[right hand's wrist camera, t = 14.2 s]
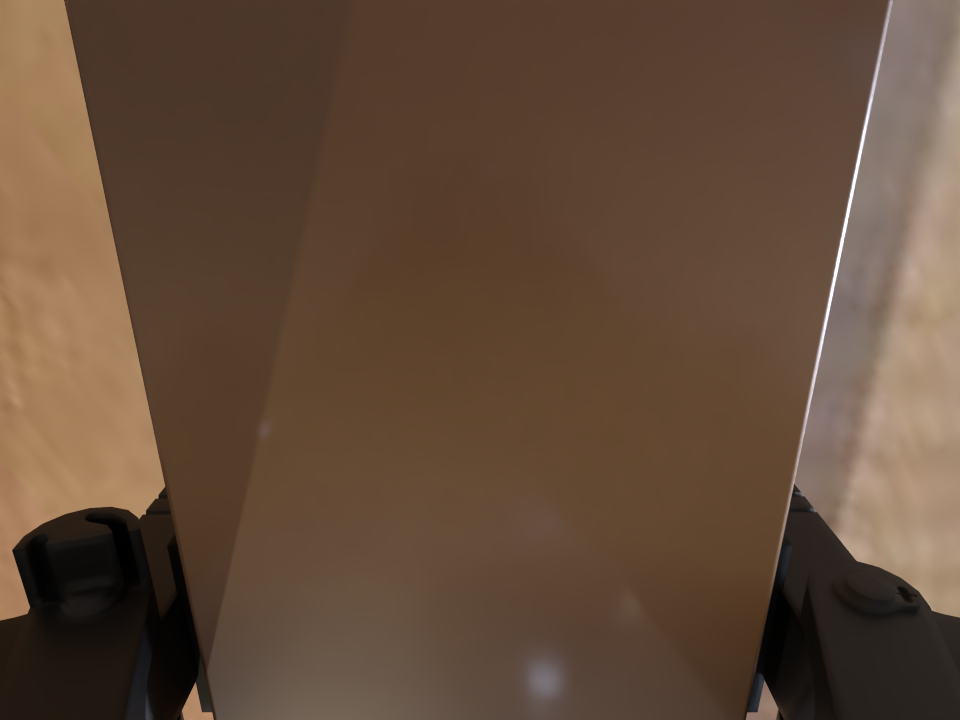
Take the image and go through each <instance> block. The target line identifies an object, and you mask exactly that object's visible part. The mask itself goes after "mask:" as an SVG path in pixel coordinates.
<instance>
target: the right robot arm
mask: <svg viewBox="0 0 960 720" xmlns="http://www.w3.org/2000/svg"><path fill="white" fill-rule="evenodd" d="M12 551H13V554H14V558H15V561H16V564H17V567H18V570H19V573H20V576H21V580H22V583H23V586H24V589H25V592H26V595H27V598H28V602H29V605H30V610H29V612H28V614H26V615H22V616H19V617H15V618H10V619H6V620H1V621H0V720H184V718H183V713H182V709H183V707H184V705H185V703H186V701H187V698H188V696H189V694H190V692H191V690H192V688H193V686H194V684H195V682H196V685H197V690H198V695H199V700H200V704H201V709H202V712H212V708H211V703H210V698H209V694H208V689H207V684H206V679H205V674H204V670H203V665H202V660H201V655H200V650H199V645H198V641H197V636H196V631H195V626H194V621H193V617H192V612H191V607H190V602H189V597H188V593H187V588H186V583H185V578H184V573H183V569H182V564H181V559H180V554H179V549H178V544H177V540H176V535H175V530H174V525H173V520H172V516H171V511H170V506H169V501H168V496H167V492H166V487H165V488H164V489H163V490H162V491H161V493H160V494H159V498H158V499H155V500H154V501H153V503H152V504H151V505H150V506H149V508H148V509H147V510H146V515H142V516H141V518H140V519H139V520H138V517H136V516H135V515H134V514H132V513H131V512H130V511H129V510H124V509H119V508H114V507H101V508H88V509H84V510H80V511H76V512H72V513H68V514H65V515H62V516H60V517H58V518H55V519H53V520H51V521H48V522H46V523H44V524H42V525H40V526H39V527H37V528H36V529H34V530H33V531H31V532H30V533H28V534H27V535H25V536H24V537H23V538H22V539H21V540H20V542H19V543H18V544H17V545H16V546H15V547H14V549H13V550H12ZM764 680H765V682H766V684H767V686H768V688H769V690H770V692H771V694H772V696H773V698H774V700H775V702H776V704H777V706H778V708H779V709H778V713H777V718H776V720H960V618H958V617H954V616H949V615H944V614H941V613H937V612H934V611H931V608H930V606H929V605H928V604H927V602H926V601H925V599H924V598H923V597H922V595H921V594H920V593H919V591H917V590H916V589H915V588H913V587H912V586H911V585H909V584H908V583H907V582H906V581H904V580H903V579H902V578H900V577H898V576H896V575H894V574H892V573H890V572H888V571H885V570H883V569H881V568H879V567H876V566H872V565H868V564H865V563H861V562H858V561H856V560H855V559H854V558H853V556H852V555H851V554H850V553H849V551H848V550H847V549H846V548H845V546H844V545H843V544H842V543H841V541H840V540H839V539H838V538H837V536H836V535H835V534H834V533H833V531H832V530H831V529H830V528H829V527H828V525H827V524H826V523H825V522H824V520H823V519H822V518H821V517H820V515H819V514H818V513H817V512H814V508H813V507H812V505H811V504H810V503H809V502H808V500H807V499H806V498H805V497H802V496H801V492H800V491H799V489H798V488H797V487H796V486H795V484H794V486H793V491H792V496H791V501H790V506H789V511H788V515H787V520H786V525H785V530H784V535H783V540H782V545H781V550H780V554H779V559H778V564H777V569H776V574H775V579H774V584H773V589H772V593H771V598H770V603H769V608H768V613H767V618H766V623H765V628H764V632H763V637H762V642H761V647H760V652H759V657H758V662H757V666H756V671H755V676H754V681H753V686H752V691H751V696H750V701H749V705H748V710H747V712H757V711H758V707H759V702H760V697H761V692H762V688H763V683H764Z"/></svg>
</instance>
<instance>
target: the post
mask: <svg viewBox="0 0 960 720" xmlns="http://www.w3.org/2000/svg"><path fill="white" fill-rule="evenodd" d="M64 1H65V6H66V10H67V15H68V20H69V25H70V30H71V34H72V39H73V44H74V49H75V54H76V59H77V63H78V68H79V73H80V78H81V83H82V87H83V92H84V97H85V102H86V107H87V111H88V116H89V121H90V126H91V131H92V136H93V140H94V145H95V150H96V155H97V160H98V164H99V169H100V174H101V179H102V184H103V188H104V193H105V198H106V203H107V208H108V212H109V217H110V222H111V227H112V232H113V237H114V241H115V246H116V251H117V256H118V261H119V265H120V270H121V275H122V280H123V285H124V289H125V294H126V299H127V304H128V309H129V314H130V318H131V323H132V328H133V333H134V338H135V342H136V347H137V352H138V357H139V362H140V366H141V371H142V376H143V381H144V386H145V390H146V395H147V400H148V405H149V410H150V415H151V419H152V424H153V429H154V434H155V439H156V443H157V448H158V453H159V458H160V463H161V467H162V472H163V477H164V482H165V487H166V492H167V496H168V501H169V506H170V511H171V516H172V520H173V525H174V530H175V535H176V540H177V544H178V549H179V554H180V559H181V564H182V569H183V573H184V578H185V583H186V588H187V593H188V597H189V602H190V607H191V612H192V617H193V621H194V626H195V631H196V636H197V641H198V645H199V650H200V655H201V660H202V665H203V670H204V674H205V679H206V684H207V689H208V694H209V698H210V703H211V708H212V713H213V718H214V720H746V715H747V710H748V705H749V701H750V696H751V691H752V686H753V681H754V676H755V671H756V666H757V662H758V657H759V652H760V647H761V642H762V637H763V632H764V628H765V623H766V618H767V613H768V608H769V603H770V598H771V593H772V589H773V584H774V579H775V574H776V569H777V564H778V559H779V554H780V550H781V545H782V540H783V535H784V530H785V525H786V520H787V515H788V511H789V506H790V501H791V496H792V491H793V486H794V481H795V476H796V472H797V467H798V462H799V457H800V452H801V447H802V442H803V438H804V433H805V428H806V423H807V418H808V413H809V408H810V403H811V399H812V394H813V389H814V384H815V379H816V374H817V369H818V364H819V360H820V355H821V350H822V345H823V340H824V335H825V330H826V325H827V321H828V316H829V311H830V306H831V301H832V296H833V291H834V286H835V282H836V277H837V272H838V267H839V262H840V257H841V252H842V247H843V243H844V238H845V233H846V228H847V223H848V218H849V213H850V209H851V204H852V199H853V194H854V189H855V184H856V179H857V174H858V170H859V165H860V160H861V155H862V150H863V145H864V140H865V135H866V131H867V126H868V121H869V116H870V111H871V106H872V101H873V96H874V92H875V87H876V82H877V77H878V72H879V67H880V62H881V57H882V53H883V48H884V43H885V38H886V33H887V28H888V23H889V18H890V14H891V9H892V4H893V0H64Z"/></svg>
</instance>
